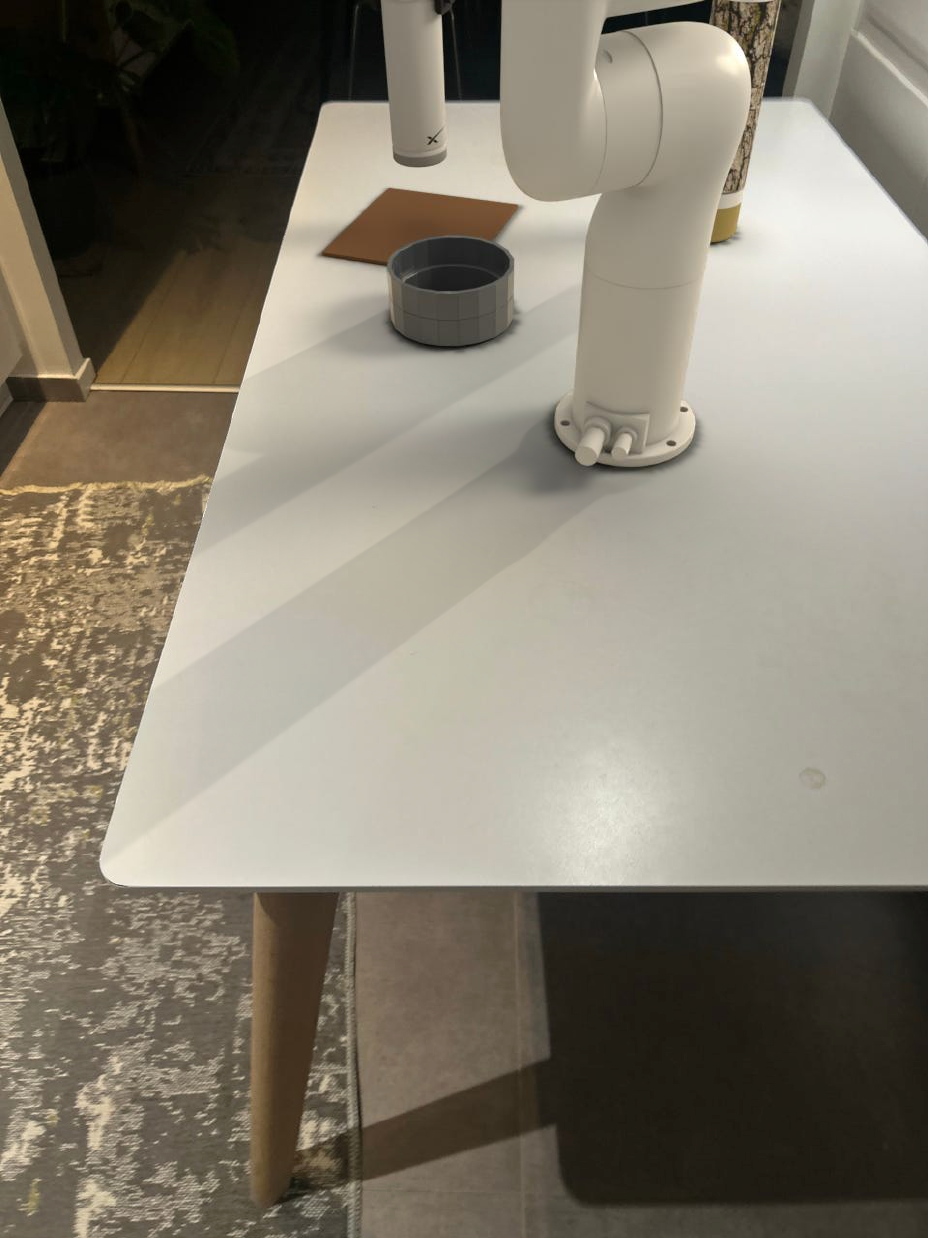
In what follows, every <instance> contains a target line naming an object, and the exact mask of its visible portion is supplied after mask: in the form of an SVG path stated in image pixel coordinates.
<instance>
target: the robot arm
mask: <svg viewBox="0 0 928 1238" xmlns="http://www.w3.org/2000/svg"><path fill="white" fill-rule="evenodd" d="M455 1H456V0H435V12H436V13H437V14H438V15H441V16H443V15H445V14H446V13H447V12H449V11H450V10H451V9H452V8H453V4H454V3H455ZM702 1H704V0H501V20H500V21H501V23H500V25H501V27H500V29H501V30H500V72H499V73H500V75H499V77H500V78H499V122H500V123H499V124H500V127H499V128H500V136H501V146H502V152H503V157H504V161H505V164H506V166H507V170H508V172H509V175H510V177H511V179H512V181H513V183H514V184H515V186H516V187H517V188H518V189H519V190H520V192H521V193H523V194H524V195H526V196H527V197H529V198H531V199H533V200H535V201H539V202H546V203H556V202H564V201H565V202H566V201H572V200H576V199H581V198H585V197H586V198H587V197H591V196H596V195H599V198H598V200H597V202H596V205H595V207H594V209H593V211H592V215H591V218H590V221H589V224H588V228H587V232H586V236H585V243H584V244H585V245H584V254H583V255H584V256H583V264H582V265H583V267H582V279H581V280H582V281H581V291H580V306H579V316H578V330H577V344H576V356H575V368H574V382H573V383H574V384H573V389H572V390H571V391H569V392H568V393H566V394H565V395H564V396H563V397H562V398H561V399H560V400H559V401H558V403H557V405H556V407H555V411H554V430H555V432H556V435H557V436H558V438H559V439H560V441H561V442H562V444H564V445H565V446H566V447H567V448H568V449H569V450H571V451H572V452H574V457H575V459H576V461H577V462H578V463H579V464H580V465H581V466H586V467H589V466H590V467H591V466H593V465H594V464H596V463H599V464H602V465H608V466H612V467H622V468H623V467H624V468H638V467H640V468H641V467H646V466H647V467H648V466H652V465H653V466H654V465H657V464H661V463H664V462H667V461H670V460H671V459H673V458H675V457H677V456H679V455H680V454H681V453H683V452H684V451H685V450H686V449H687V448H688V447H689V445H690V444H691V442H692V441H693V437H694V435H695V429H696V416H695V414H694V411H693V410H692V408H691V406H690V405H689V404H688V403H687V402H686V400H684V399H683V395H684V391H685V390H684V389H685V384H686V379H687V373H688V367H689V362H690V355H691V349H692V343H693V339H694V333H695V328H696V321H697V316H698V309H699V304H700V299H701V292H702V288H703V282H704V276H705V270H706V268H707V262H708V257H709V251H710V246H711V242H710V241H711V236H712V231H713V226H714V221H715V217H716V213H717V209H718V204H719V201H720V197H721V194H722V191H723V187H724V184H725V181H726V178H727V175H728V173H729V170H730V167H731V165H732V162H733V160H734V157H735V154H736V152H737V149H738V147H739V144H740V141H741V138H742V135H743V132H744V129H745V125H746V121H747V117H748V113H749V108H750V101H751V77H750V71H749V66H748V62H747V60H746V57H745V55H744V52H743V50H742V49H741V47H740V46H739V44H738V43H737V41H736V40H735V39H734V38H733V37H731V36H730V35H729V34H728V33H727V32H725V31H724V30H722V29H720V28H718V27H715V26H712V25H709V23H705V22H697V21H673V22H665V23H660V24H652V25H647V26H640V27H633V28H628V29H622V30H616V31H615V32H610V33H603V34H602V31H603V27H604V24H605V21H606V20H607V18H613V17H618V16H625V15H630V14H636V13H642V12H649V11H654V10H660V9H667V8H673V7H678V6H683V5H689V4H694V3H698V2H702ZM370 2H371V9H372V10H373V11H375V10H376V11H378V10H380V9H382V8H381V0H371V1H370Z"/></svg>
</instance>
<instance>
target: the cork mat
mask: <svg viewBox="0 0 928 1238" xmlns="http://www.w3.org/2000/svg"><path fill="white" fill-rule="evenodd" d="M518 208H519V204H518V203H516V204H515V203H510V202H509V203H508V202H503V201H502V202H500V201H493V200H486V199H478V198H470V197H463V196H456V195H449V194H441V193H432V192H426V191H417V190H411V189H402V188H395V187H388V188H386V190H385V191H384V192H383V193H382V194H381V195H380V196H379V197H377V198H376V199H375V200H374V201H373V202H372V203H371V204H370V205H369V206H368V207H367V208H366V209H365V210H364V211H362V213H361V214H360V215H359V216H358V217H357V218H356V219H355V220H353V222H351V223H350V224H349V225H348V226H347V227H346V228H345V229H344V230H343V231H342V232H341V233H340V234H339V235H338V236H337V237H336V238H335V239H333V241H332V242H330V243H329V244H328V245H327V246H326V247H325V248H324V249H323V250H322V251H321V255H322V256H323V257H324V256H325V257H331V258H337V259H343V260H351V261H357V262H358V261H359V262H365V263H369V264H370V263H371V264H376V265H383V266H387V264H388V259H389V258H390V257H391V256H392V255H393V253H394V252H395V251H396V250H398V249H400V248H401V247H403V246H405V245H407V244H409V243H411V242H415V241H418V240H421V239H424V238H430V237H437V236H450V235H463V236H471V237H478V238H483V239H486V240H489V241H492V242H493V241H494V239H495V238H496V236H497V235H499V233H500V231H502V229H503V227H504V226H505V225H506V224H507V222H509V220H510V219H511V217H512V216H513V215H514V213H516V211H517V210H518Z"/></svg>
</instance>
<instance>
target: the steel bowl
mask: <svg viewBox="0 0 928 1238" xmlns="http://www.w3.org/2000/svg"><path fill="white" fill-rule="evenodd" d="M386 277H387V290H388V301H389V311H390V312H389V313H390V320H391V322H392V325H393V326H394V330H396V331H397V332H399V333H400V334H401V335H403V336H404V337H406V338H408V339H410V340H412V341H415V342H418V343H419V344H420V343H421V344H425V345H431V346H436V347H462V346H467V345H468V346H469V345H475V344H479V343H481V342H485V341H487V340H491V339H493V338H497V336H499V335H500V334H502V333H503V332H505V331H506V330H507V329H508V328H509V326H510V325H511V323H512V322H513V320H514V303H515V302H514V301H515V299H514V298H515V257H514V256H513V255H512V253H511V252H510V250H509V249H507V248H505V247H504V246H503V245H501V244H499V243H498V242H495V241H493V240H492V241H489V240H486V239H483V238H478V237H471V236H463V235H450V236H437V237H430V238H424V239H421V240H418V241H415V242H411V243H409V244H407V245H405V246H403V247H401V248H400V249H398V250H396V251H395V252H394V253H393V255H392V256H391V257H390V258H389V259H388V264H387V265H386Z"/></svg>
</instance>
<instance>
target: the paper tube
mask: <svg viewBox="0 0 928 1238" xmlns="http://www.w3.org/2000/svg"><path fill="white" fill-rule="evenodd" d="M711 3H712V4H711V9H710V15H709V16H710V17H709V23H708V24H709V25H712V26H715V27H718V28H720V29H722V30H724V31H725V32H727V33H728V34H729V35H730V36H731V37H733V38H734V39H735V40H736V41H737V43H738V44H739V46H740V47H741V49H742V50H743V52H744V55H745V57H746V60H747V62H748V66H749V71H750V77H751V101H750V108H749V113H748V117H747V121H746V125H745V129H744V132H743V135H742V138H741V141H740V144H739V147H738V149H737V152H736V154H735V157H734V160H733V162H732V165H731V167H730V170H729V173H728V175H727V178H726V181H725V184H724V187H723V191H722V194H721V197H720V201H719V204H718V209H717V213H716V217H715V221H714V226H713V231H712V236H711V241H710V243H718V242H723V241H726V240H729V238H732V236H733V235H735V233H736V231H737V228H738V223H739V218H740V212H741V207H742V203H743V202H742V201H743V198H744V192H745V189H746V188H745V187H746V183H747V178H748V173H749V168H750V163H751V157H752V152H753V146H754V142H755V138H756V137H755V136H756V132H757V127H758V122H759V116H760V112H761V106H762V100H763V95H764V90H765V86H766V81H767V76H768V72H769V71H768V70H769V66H770V60H771V56H772V50H773V44H774V40H775V34H776V29H777V25H778V19H779V14H780V10H781V3H782V0H712V2H711Z"/></svg>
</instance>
